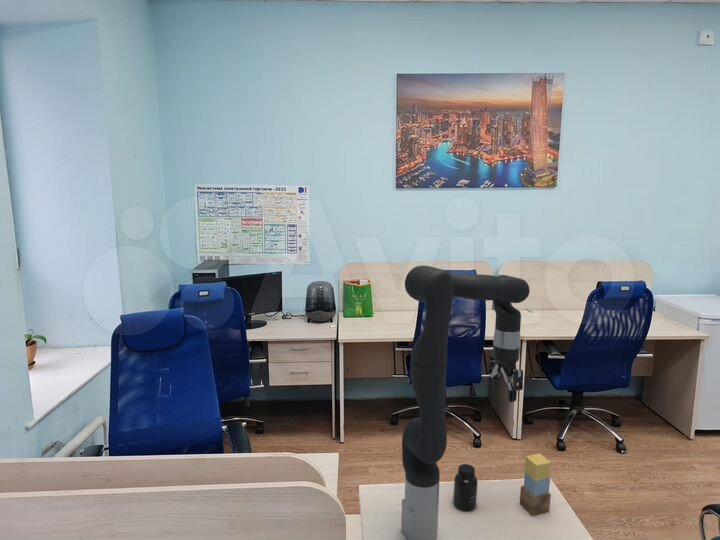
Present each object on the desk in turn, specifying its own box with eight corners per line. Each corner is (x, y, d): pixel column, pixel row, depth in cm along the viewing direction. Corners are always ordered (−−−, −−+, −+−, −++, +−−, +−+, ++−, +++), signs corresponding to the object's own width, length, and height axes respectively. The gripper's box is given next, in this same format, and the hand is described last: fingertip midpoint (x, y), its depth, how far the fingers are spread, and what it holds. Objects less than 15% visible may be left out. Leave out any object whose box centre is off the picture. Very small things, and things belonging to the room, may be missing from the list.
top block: (535, 481, 144) (536, 465, 144) (524, 471, 149) (525, 456, 148) (549, 477, 146) (550, 462, 145) (538, 468, 151) (539, 453, 150)
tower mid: (534, 496, 145) (535, 481, 144) (523, 486, 150) (524, 471, 149) (548, 493, 147) (550, 478, 146) (538, 483, 152) (539, 468, 151)
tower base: (532, 516, 146) (533, 498, 145) (519, 503, 152) (520, 485, 150) (549, 512, 148) (550, 494, 147) (536, 499, 153) (537, 482, 152)
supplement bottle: (476, 513, 147) (478, 476, 145) (452, 510, 148) (454, 473, 146) (476, 498, 154) (477, 463, 151) (453, 495, 155) (455, 460, 153)
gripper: (482, 337, 152) (479, 387, 155) (510, 353, 138) (506, 407, 141) (503, 334, 154) (500, 384, 157) (533, 350, 141) (529, 403, 144)
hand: (503, 395), depth 149 cm, fingers open, 8 cm apart
